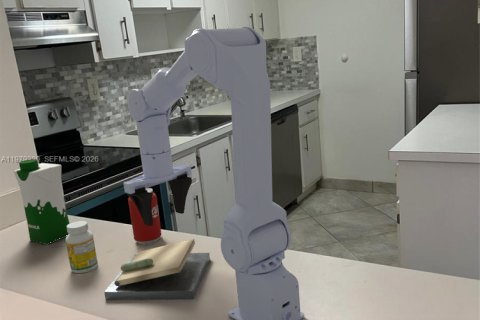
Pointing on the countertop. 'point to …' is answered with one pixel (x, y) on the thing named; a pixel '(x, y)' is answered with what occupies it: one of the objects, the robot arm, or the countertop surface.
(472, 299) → the countertop surface
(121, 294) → the base
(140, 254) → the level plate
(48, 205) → the milk carton
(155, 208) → the beverage can
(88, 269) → the supplement bottle
